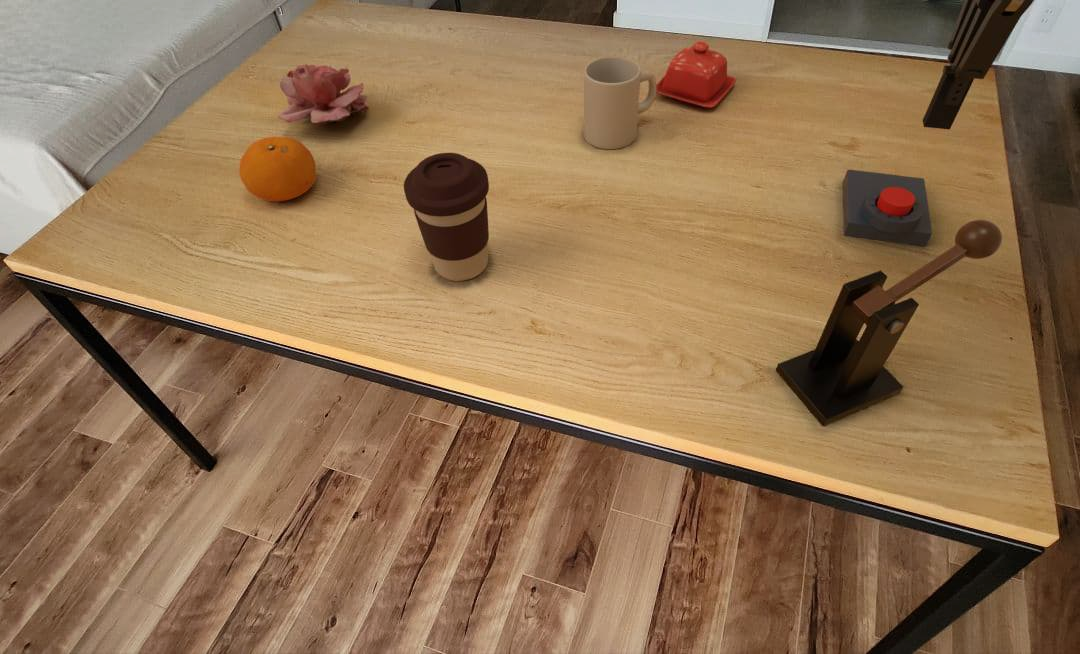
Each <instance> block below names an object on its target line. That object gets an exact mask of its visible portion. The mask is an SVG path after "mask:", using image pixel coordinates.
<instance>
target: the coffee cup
mask: <svg viewBox="0 0 1080 654" xmlns="http://www.w3.org/2000/svg"><path fill="white" fill-rule="evenodd" d="M489 189H490V183H489V175H488V171H487V170H486V168H485V167H484V165H482V164H481V163H480V162H478V161H476V160H474V159H472V158H468V157H467V156H466V155H462V154H460V153H456V152H441V153H436V154H433V155H430V156H428V157H425V158H424V159H422V160H420V162H419V163H418V164H417V165H416V166H415V167H413V169H411V170H410V171H409V172H408V174H407V175H406V177H405V179H404V182H403V191H404V196H405V199H406V201H407V203H408V205H409V206H410V207H411V208H412V209H413V212H414V213H413V214H414V216H415V219H416V222H417V226H418V229H419V231H420V234H421V237H422V240H423V243H424V246H425V248H426V250H427V251H428V253H429V255H430V258H431V262H432V265H433V268H434V269H435V271H436V273H437V274H438V275H439V276H440V277H442V278H443V279H445V280H448V281H454V282H455V281H456V282H462V281H468V280H471V279H474V278H476V277H477V276H479V275H481V274H482V273H483V272H484V271H485V269H486V268H487V266H488V263H489V243H488V242H489V238H490V233H489V215H488V214H489V213H488V200H487V195H488V193H489Z"/></svg>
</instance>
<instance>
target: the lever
mask: <svg viewBox="0 0 1080 654" xmlns="http://www.w3.org/2000/svg"><path fill="white" fill-rule="evenodd" d="M1002 242H1003V235H1002V232H1001V229H1000V228H999V227H998V225H996V224H995V223H994V222H991V221H989V220H986V219H976V220H971V221H969V222H967V223H965V224H964V225H962V226H961V227H960V228H959V229H958V230H957V232H956V234H955V238H954V243H955V245H953V246H952V247H950V248H949V249H948V250H945V252H943V253H942V254H940V255H938V256H937V257H935V258H933V259H932V260H930V261H929V262H928V263H926V264H924V265H923V266H921V267H920V268H918V269H917V270H915V271H914V272H912V273H911V274H909V275H908V276H906V277H905V278H903V279H901V280H900V281H898V282H897V283H895V284H894V285H892V286H891V287H889V288H888V289H886V290H885V289H883V287H882V288H881V287H880V286H879V285H878V286H877V287H875V288H874V289H872V290H870V291H869V292H867V293H866V294H864V295H863V296H861V297H860V298H858V299H857V300H855V301H854V302H853V304H854V313H855V315H857V316H858V317H859V318H860V319H861V320H862V321H863V322H864V325H865V326H867V324H868V322H869V320H870V318H871V316H872V314H873V313H874V312H876V311H878V310H881V309H884V308H886V307H889V306H891V305H894V304H896V302H899V301H900V300H901V299H902V298H905V297H906V296H907V295H909V294H910V293H912V292H913V291H915V290H917V289H918V288H919V287H921V286H922V285H925V284H926V283H927V282H929V281H931V280H932V279H933V278H935V277H937V276H938V275H940V274H942V273H943V272H944V271H946V270H947V269H949V268H950V267H952V266H954V265H955V264H957V263H958V262H959V261H962V260H963V259H964V258H969V259H973V260H982V259H985V258H988V257H990V256H993V255H994V254H995V253H996V252H997V251H998V250H999V249H1000V248H1001V245H1002Z"/></svg>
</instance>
